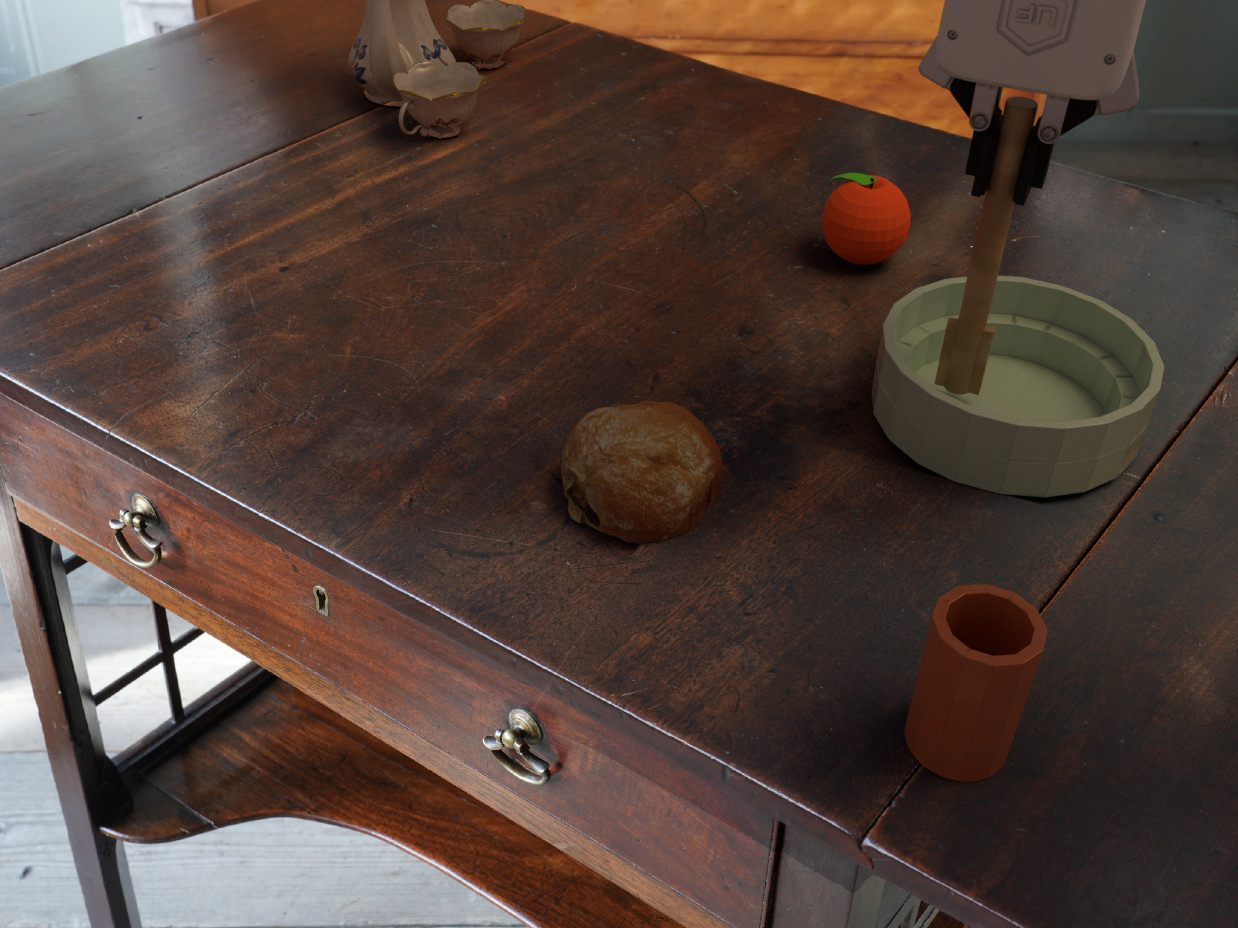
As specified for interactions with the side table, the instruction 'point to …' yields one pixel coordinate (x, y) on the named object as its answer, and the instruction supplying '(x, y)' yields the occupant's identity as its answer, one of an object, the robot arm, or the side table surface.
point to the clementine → (865, 219)
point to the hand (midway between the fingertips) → (1002, 189)
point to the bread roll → (641, 471)
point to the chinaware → (430, 57)
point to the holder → (973, 681)
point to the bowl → (1019, 389)
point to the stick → (986, 258)
